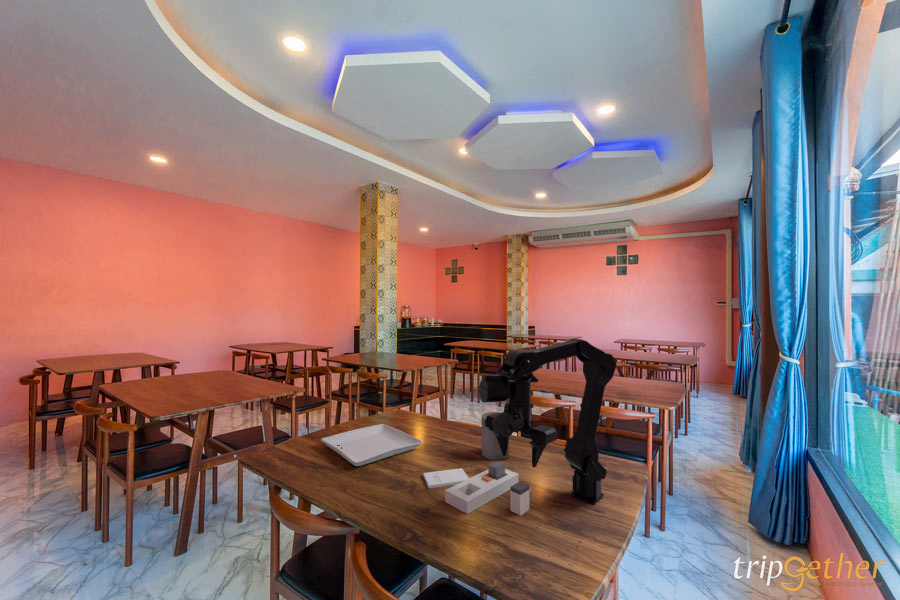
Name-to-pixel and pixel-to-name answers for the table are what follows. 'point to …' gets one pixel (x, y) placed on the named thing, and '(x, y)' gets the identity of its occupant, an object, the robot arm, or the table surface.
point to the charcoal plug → (496, 470)
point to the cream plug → (519, 498)
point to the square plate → (371, 443)
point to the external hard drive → (445, 478)
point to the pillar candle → (491, 442)
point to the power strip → (479, 490)
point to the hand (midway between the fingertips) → (518, 461)
